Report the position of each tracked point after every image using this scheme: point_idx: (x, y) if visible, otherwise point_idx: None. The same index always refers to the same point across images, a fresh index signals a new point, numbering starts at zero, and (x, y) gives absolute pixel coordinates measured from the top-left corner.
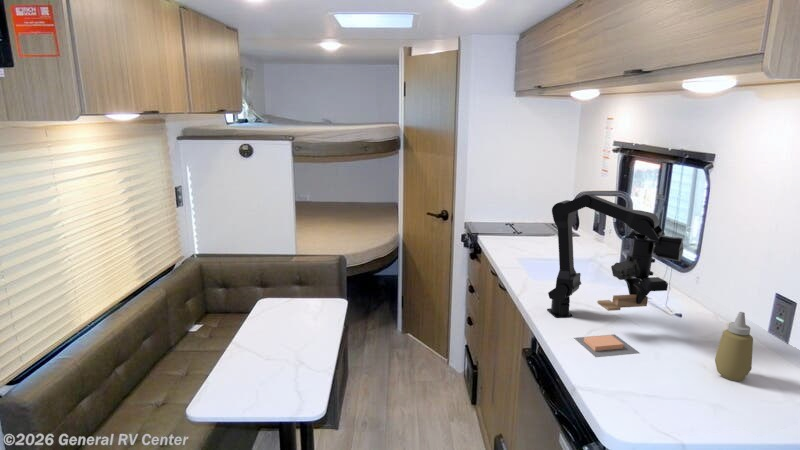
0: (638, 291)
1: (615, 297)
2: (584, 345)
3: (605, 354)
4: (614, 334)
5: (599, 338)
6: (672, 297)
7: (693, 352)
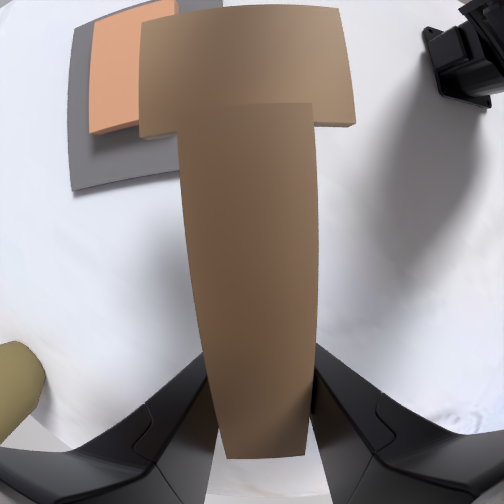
0: (120, 439)
1: (247, 106)
2: None
3: (79, 59)
4: None
5: None
6: None
7: (113, 375)
